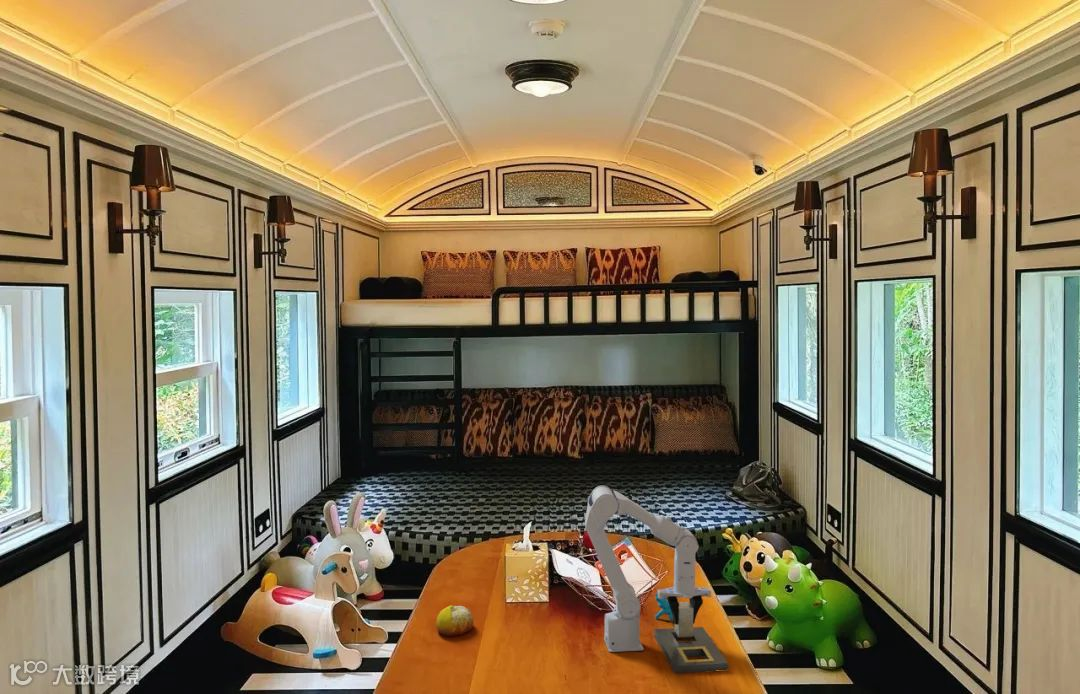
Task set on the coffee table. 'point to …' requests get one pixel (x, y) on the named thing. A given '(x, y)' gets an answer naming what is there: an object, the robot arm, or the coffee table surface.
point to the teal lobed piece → (663, 607)
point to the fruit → (454, 621)
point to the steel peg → (684, 620)
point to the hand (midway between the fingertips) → (683, 622)
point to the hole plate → (690, 651)
